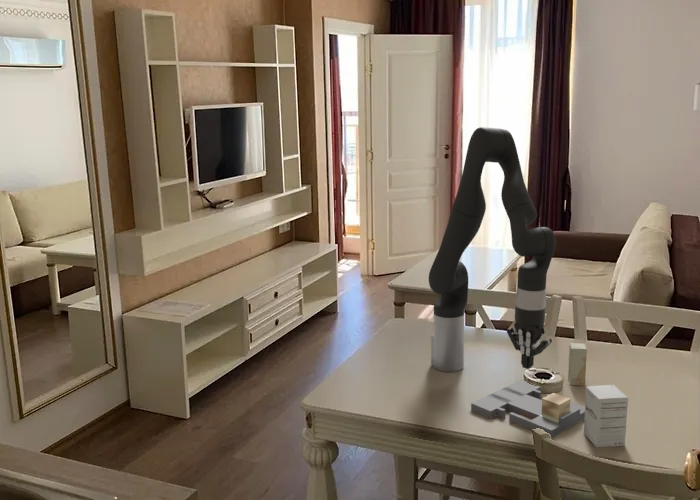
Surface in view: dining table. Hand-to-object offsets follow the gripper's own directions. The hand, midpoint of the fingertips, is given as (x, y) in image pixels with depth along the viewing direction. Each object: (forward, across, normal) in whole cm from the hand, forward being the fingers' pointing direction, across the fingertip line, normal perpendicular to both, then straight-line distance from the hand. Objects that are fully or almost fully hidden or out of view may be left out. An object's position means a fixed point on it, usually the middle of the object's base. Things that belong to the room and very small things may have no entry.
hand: (526, 367), depth 181 cm
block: (+10, -9, -1) cm, 13 cm away
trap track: (+12, -2, 0) cm, 12 cm away
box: (+12, +1, -26) cm, 28 cm away
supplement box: (+12, -23, -1) cm, 26 cm away
